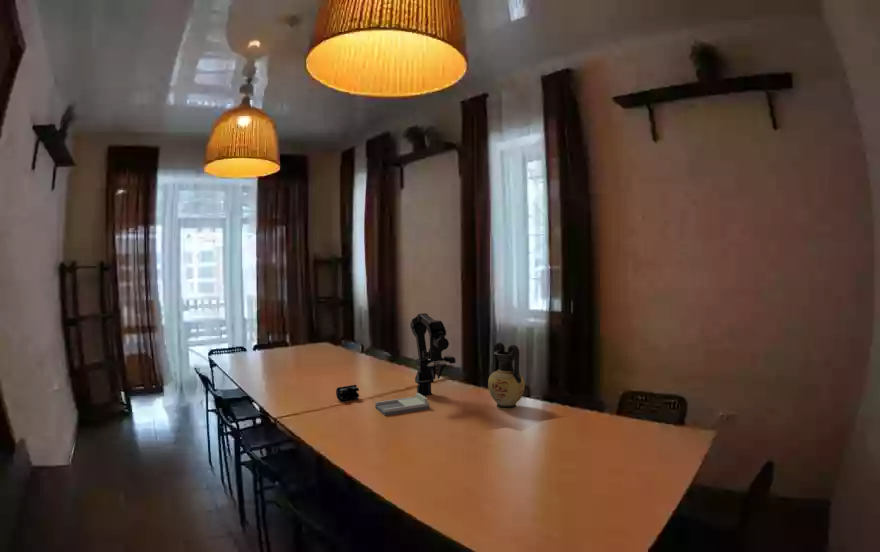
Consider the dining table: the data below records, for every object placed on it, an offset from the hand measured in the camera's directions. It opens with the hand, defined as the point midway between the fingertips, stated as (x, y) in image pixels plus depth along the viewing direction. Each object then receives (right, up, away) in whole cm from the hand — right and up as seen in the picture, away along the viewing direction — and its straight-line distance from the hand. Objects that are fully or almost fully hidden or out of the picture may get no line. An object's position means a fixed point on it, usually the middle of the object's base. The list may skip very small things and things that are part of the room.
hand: (436, 378), depth 248 cm
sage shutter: (-11, -11, -5) cm, 16 cm away
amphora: (+33, -12, -9) cm, 36 cm away
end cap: (-45, -13, +11) cm, 48 cm away
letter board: (-16, -13, -7) cm, 22 cm away
